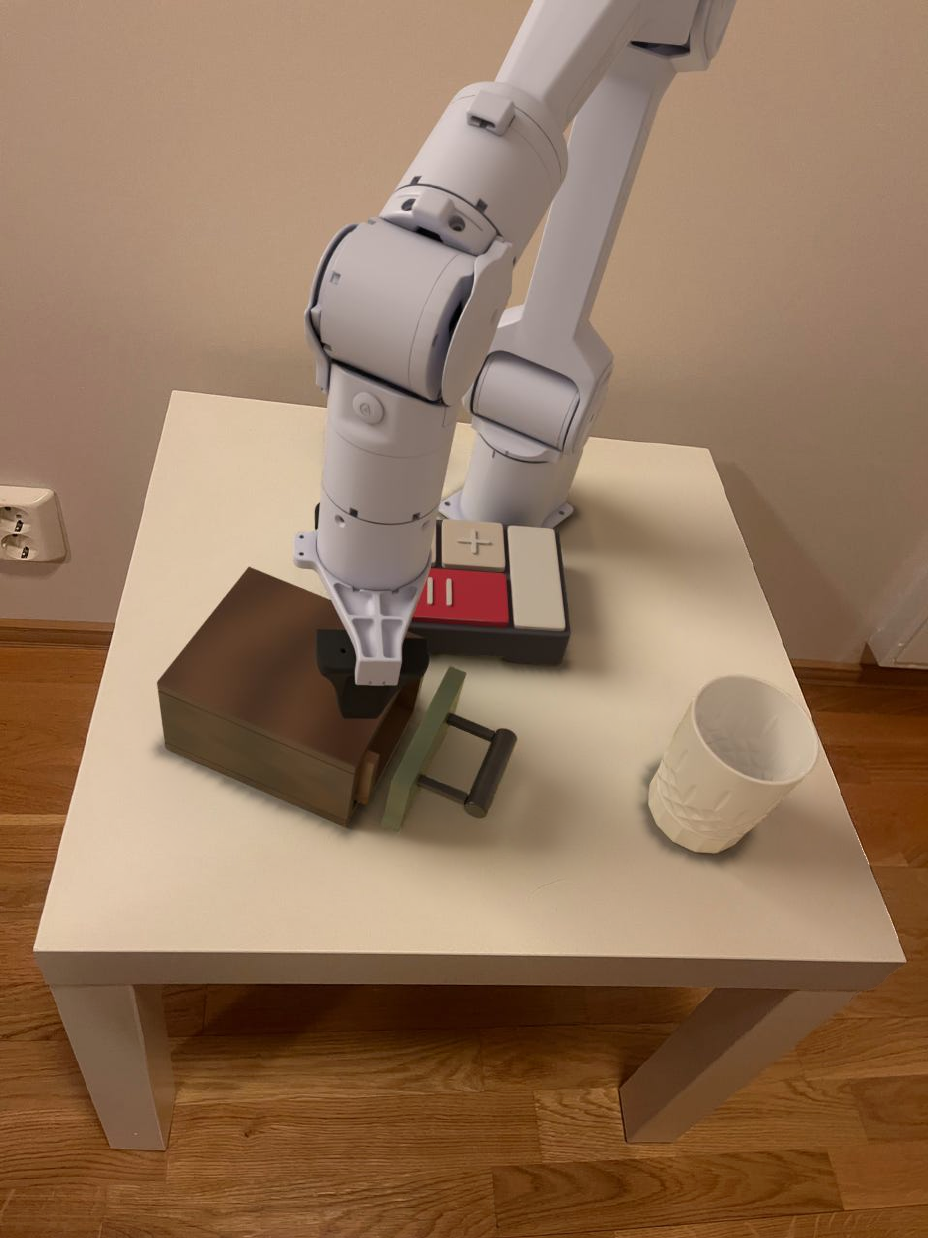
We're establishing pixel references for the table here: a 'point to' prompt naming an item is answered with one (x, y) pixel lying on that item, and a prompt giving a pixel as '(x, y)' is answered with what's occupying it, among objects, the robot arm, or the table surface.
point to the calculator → (495, 593)
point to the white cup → (731, 762)
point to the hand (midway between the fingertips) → (357, 659)
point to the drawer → (430, 753)
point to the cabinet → (267, 699)
